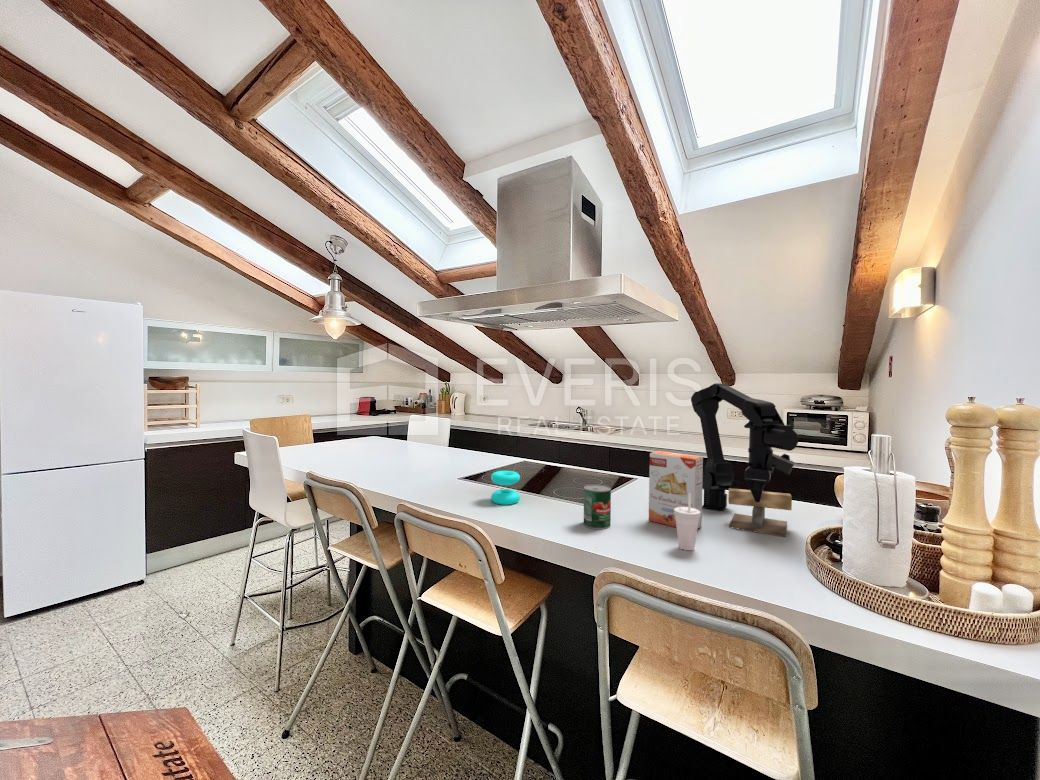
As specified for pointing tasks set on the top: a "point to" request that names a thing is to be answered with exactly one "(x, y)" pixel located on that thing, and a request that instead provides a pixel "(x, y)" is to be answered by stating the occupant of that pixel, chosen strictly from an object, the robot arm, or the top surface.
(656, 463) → the cracker box
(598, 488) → the canned tomato
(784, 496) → the oak bar
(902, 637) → the top surface
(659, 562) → the top surface
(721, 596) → the top surface
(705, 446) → the robot arm
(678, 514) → the smoothie
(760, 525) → the stand
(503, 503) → the donuts
